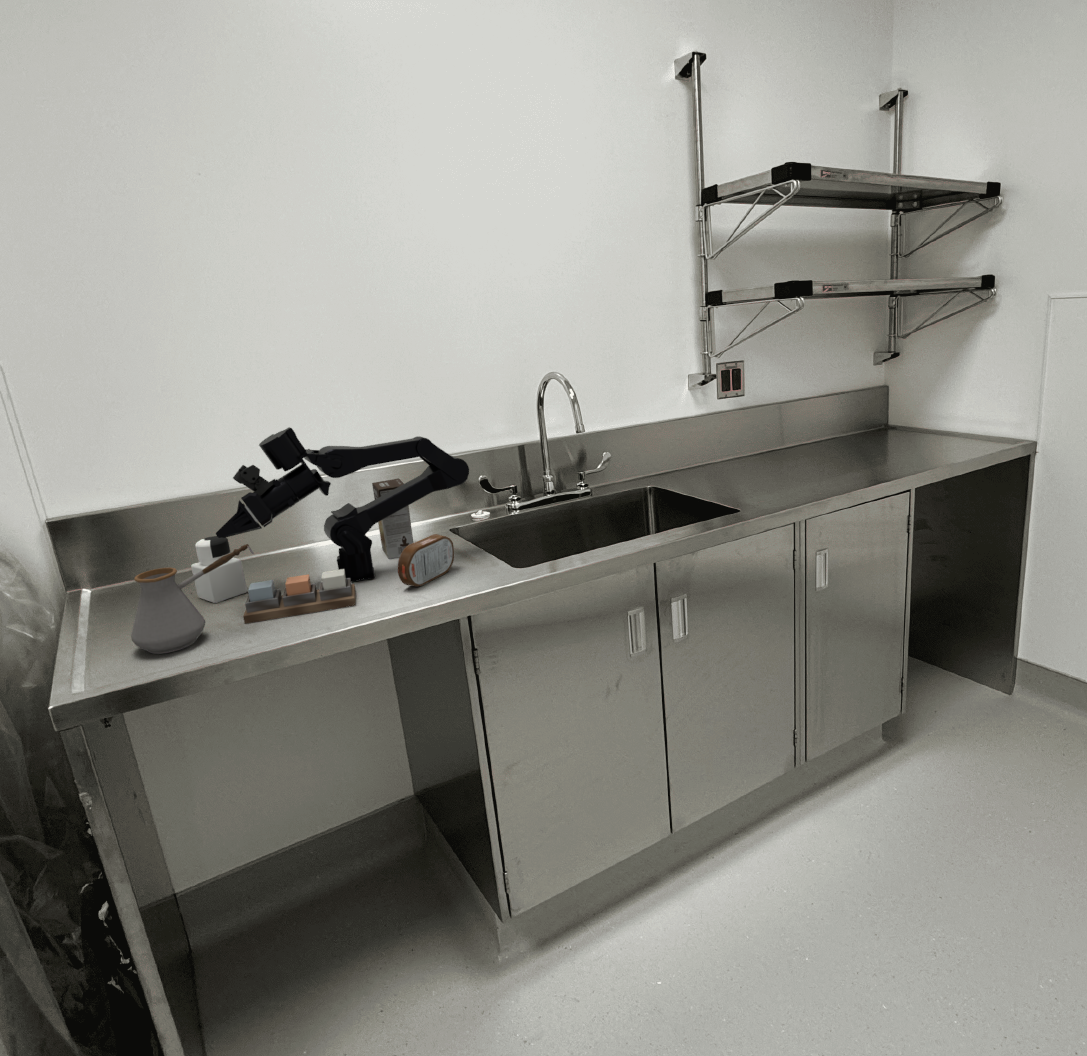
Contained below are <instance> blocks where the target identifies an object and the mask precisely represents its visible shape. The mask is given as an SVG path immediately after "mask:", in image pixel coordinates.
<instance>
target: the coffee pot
mask: <svg viewBox="0 0 1087 1056" xmlns="http://www.w3.org/2000/svg"><path fill="white" fill-rule="evenodd" d="M247 549H248V550H249V551H250V553H251V554H252V555H254V554H255V553H254V550H253V549H252V547H250V545H249V544H248V543H247V544H244V545H241V546H240V547H239V548H235V549H233V551H232V552H231V553H229V554H227V555H225V556H222V557H221V558H219V559H218V560H216V561H215V562H213V563H212V564H210V565H209V566H207V567H206V568H204V569H203V570H202V571H200V572H199V573H197V574H195V575H193V574H192V576H189V577H188V578H186V579H185V580H183V581H181V582H180V583H177V582H176V581H175V580H176V574H177V572H178V571H177V568H175V567H160V568H155V569H149V570H147V571H144V572H141V573H139V574H137V575H135V576H134V578H133V580H134V581H135V582H136V583H138V584H139V586H140V587H139V588H140V589H141V590H140V594H139V597H138V598H139V599H138V603H137V608H136V612H135V617H134V621H133V625H132V630H131V635H130V637H131V639H130V640H131V641H132V642H133V643H134V645H135V646H136V647H138V648H139V649H142V650H144V651H147V652H148V653H149V654H153V655H154V654H156V655H157V654H158V655H159V654H168V653H173V652H177V651H180V650H183V649H186V648H188V647H190V646H191V645H193V644H194V643H196V641H197V639H198V638H199V637H200V636H201V635H202V633H203V631H204V629H205V625H206V619H205V618H204V616H203V615H202V614H201V612H200V611H199V610H198V608H197V607H196V606H195V605H194V604H193V602H192V601H191V600H190V598H189V597H188V595H186V594H185V592H184V591H183V590H182V589H183V588H184V587H186V586H188V585H190V584H191V583H193V582H195V581H194V580H196V579H198V578H199V577H201V576H202V575H204V574H206V573H208V572H210V571H212V570H214V569H216V568H218V567H219V566H221V565H223V564H225V563H227V562H228V561H229V560H230V559H232V558H235V556H239V555H240V553H242V552H245V551H246V550H247Z"/></svg>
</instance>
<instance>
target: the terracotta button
mask: <svg viewBox="0 0 1087 1056" xmlns="http://www.w3.org/2000/svg"><path fill="white" fill-rule="evenodd" d="M310 577H311V576H310V573H309V574H303V575H302V574H301V575H296V576H295V575H294V576H289V577H286V582H285V584H284V585H285V588H286V590H287V596H291V595H297V594H304V593H310V592H311V591H312V587H311V584H312V583H311V578H310Z"/></svg>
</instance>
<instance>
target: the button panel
mask: <svg viewBox="0 0 1087 1056" xmlns="http://www.w3.org/2000/svg"><path fill="white" fill-rule="evenodd" d="M346 582H347V587H341V588H335V589H329V590H324V588H323V582H322V581H321V582H320V583H319V589H317V588H318V587H317V583H315V582H314V583H311V587H312V591H311V592H310V593H304V594H297V595H291V596H287V590H286V587H285V588H284V591H283V594H282V590H281V588H277V589H276V588H275V591H276V596H275V598H272V599H266V600H259V601H253V602H250V597H249V594H248V596H247V598H246V601H245V604H244V605H245V610H244V613H243V616H242V618H243V621H244V622H243V623H244V624H245V625H246V624H247V625H248V624H251V623H258V622H263V621H271V620H277V619H281V618H288V617H294V616H299V615H306V614H313V613H319V612H323V611H325V610H326V611H331V610H330V609H332V610H336V609H342V608H343V609H344V608H349V606H350V607H355V606H354V605H356V604H357V601H356V599H357V597H356V594H357V591H356V586H355V583H352V582H351V579H350V578H346ZM356 606H357V605H356ZM326 611H325V612H326Z"/></svg>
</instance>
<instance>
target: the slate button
mask: <svg viewBox="0 0 1087 1056" xmlns="http://www.w3.org/2000/svg"><path fill="white" fill-rule="evenodd" d="M275 589H276V587H275V582H274V579H269V580H263V581H257V582H251V583H250V585H249V587H248V588H247V592H248V595H249V597H250V602H253V601H259V600H266V599H272V598H275V596H276V591H275Z"/></svg>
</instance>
